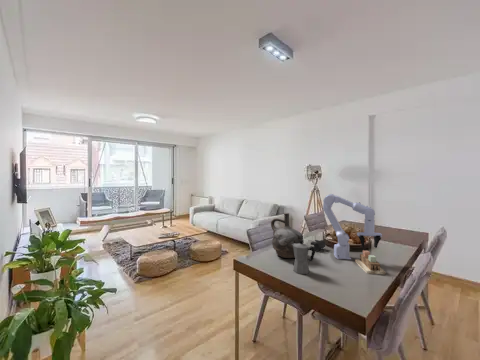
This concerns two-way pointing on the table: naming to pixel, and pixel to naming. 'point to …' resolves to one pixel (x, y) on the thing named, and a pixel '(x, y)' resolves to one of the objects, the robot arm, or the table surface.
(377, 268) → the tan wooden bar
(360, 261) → the dock
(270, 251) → the table surface
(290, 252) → the vessel
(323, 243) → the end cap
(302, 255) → the coffeepot
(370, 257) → the pale green cube
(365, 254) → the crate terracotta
